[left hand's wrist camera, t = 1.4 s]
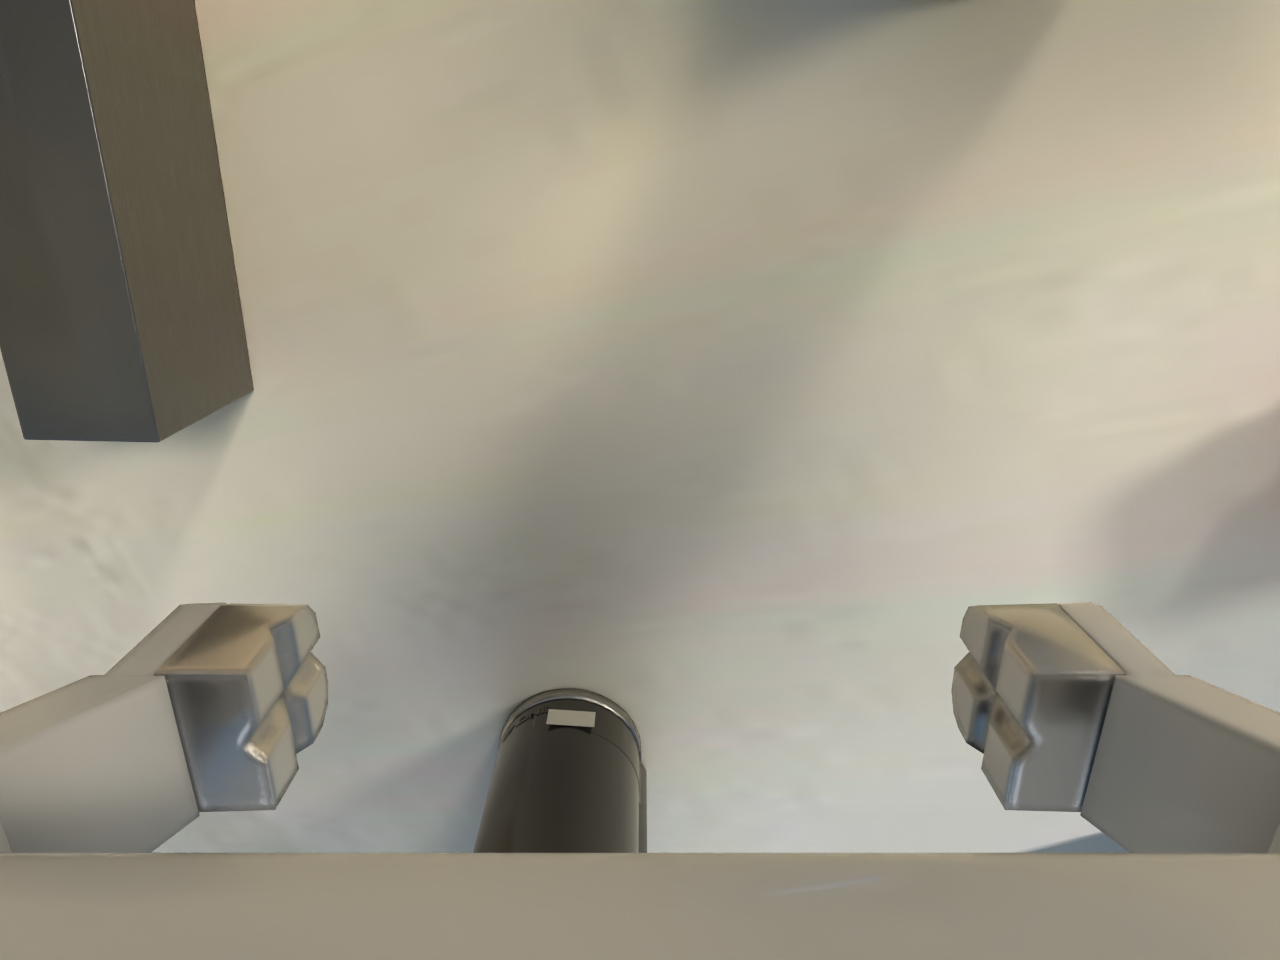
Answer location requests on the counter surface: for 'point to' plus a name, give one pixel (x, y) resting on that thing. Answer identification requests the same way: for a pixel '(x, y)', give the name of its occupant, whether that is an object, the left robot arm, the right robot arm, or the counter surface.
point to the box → (113, 224)
